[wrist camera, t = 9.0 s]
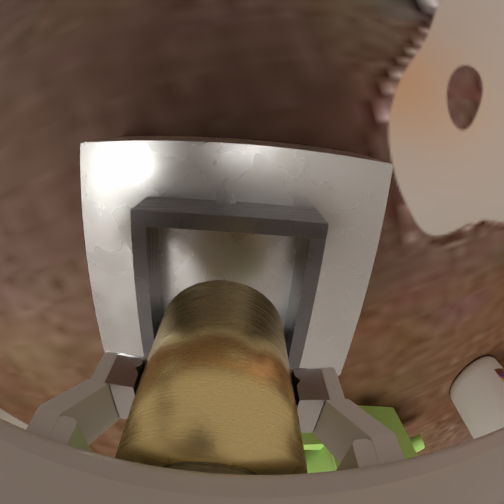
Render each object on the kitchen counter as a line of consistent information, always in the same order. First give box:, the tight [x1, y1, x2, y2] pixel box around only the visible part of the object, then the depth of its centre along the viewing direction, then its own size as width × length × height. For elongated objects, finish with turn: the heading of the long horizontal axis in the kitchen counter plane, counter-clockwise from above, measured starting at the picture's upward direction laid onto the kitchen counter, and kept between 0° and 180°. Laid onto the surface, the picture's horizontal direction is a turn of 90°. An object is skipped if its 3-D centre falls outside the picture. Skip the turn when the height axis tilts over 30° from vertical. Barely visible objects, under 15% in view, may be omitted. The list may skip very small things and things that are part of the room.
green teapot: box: [301, 405, 425, 473], centre depth 27 cm, size 18×10×10 cm, turn 73°
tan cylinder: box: [115, 280, 308, 475], centre depth 9 cm, size 5×5×8 cm
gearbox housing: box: [80, 136, 393, 375], centre depth 18 cm, size 14×16×8 cm
